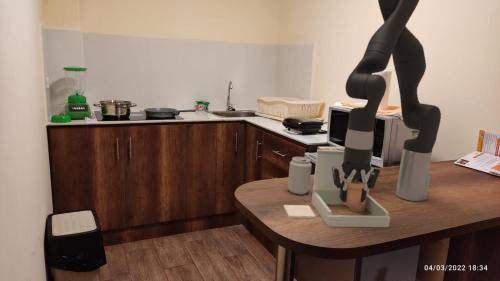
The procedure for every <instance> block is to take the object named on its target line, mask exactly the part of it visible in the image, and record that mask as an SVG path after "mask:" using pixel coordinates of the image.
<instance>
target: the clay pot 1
mask: <svg viewBox="0 0 500 281" xmlns="http://www.w3.org/2000/svg"><path fill="white" fill-rule="evenodd" d="M344 183H345V181H344ZM364 186H365V183H362V181H361V180H357V179H356V180H352V181H351V183H347V189H346V190H347V197H346V202H344V205H343V206H346V207H348V208H349V207H360V203H361V195H362V189H363V188H364Z"/></svg>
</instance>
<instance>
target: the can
mask: <svg viewBox="0 0 500 281" xmlns="http://www.w3.org/2000/svg"><path fill="white" fill-rule="evenodd" d="M291 159H292V160H291V161H289V170H288V182H287V189H288V190H289V192H290V193H292V194H294V195H306V194H307V193H308V192H310V185H311V184H310V183H311V175H312V163H311V159H309V158H308V157H305V156H293V157H292V158H291Z"/></svg>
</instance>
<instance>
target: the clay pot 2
mask: <svg viewBox="0 0 500 281" xmlns="http://www.w3.org/2000/svg"><path fill="white" fill-rule="evenodd" d="M369 193H370V189H368V190H367V193H366V197H367V195H369ZM365 205H366V199H365V200H364V202H361V203H360V207H348V209H349V210H350V211H352V212H354V213H364V212H365V211H366V208H365Z"/></svg>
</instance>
